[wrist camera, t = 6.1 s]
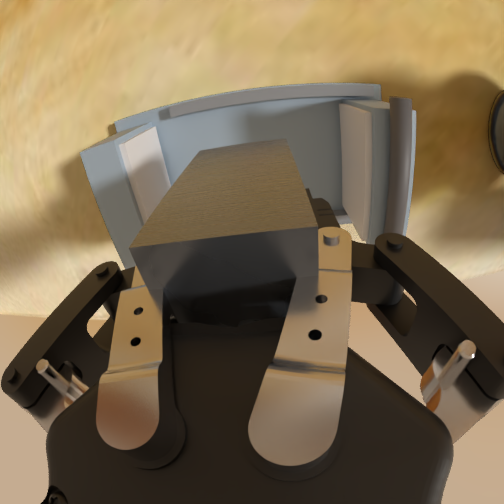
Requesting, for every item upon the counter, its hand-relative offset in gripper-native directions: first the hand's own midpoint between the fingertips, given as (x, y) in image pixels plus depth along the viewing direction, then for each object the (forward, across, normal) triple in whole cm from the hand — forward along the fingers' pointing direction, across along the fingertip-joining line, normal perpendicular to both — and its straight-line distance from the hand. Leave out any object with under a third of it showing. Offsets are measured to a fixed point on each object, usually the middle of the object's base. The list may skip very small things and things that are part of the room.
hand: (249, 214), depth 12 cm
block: (+2, 0, 0) cm, 2 cm away
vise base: (+10, 0, 0) cm, 10 cm away
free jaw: (+9, -8, 0) cm, 12 cm away
